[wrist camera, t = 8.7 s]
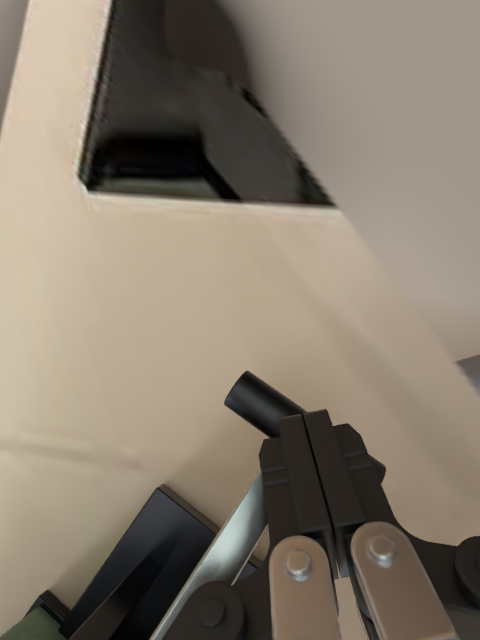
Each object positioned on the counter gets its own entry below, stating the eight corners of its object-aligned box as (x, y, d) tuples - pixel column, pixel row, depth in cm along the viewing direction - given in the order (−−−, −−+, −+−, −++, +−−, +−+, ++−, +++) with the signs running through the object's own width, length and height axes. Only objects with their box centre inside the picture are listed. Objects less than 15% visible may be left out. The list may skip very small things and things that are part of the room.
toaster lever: (243, 382, 16) (250, 358, 14) (369, 470, 15) (398, 460, 13) (-91, 832, 10) (-168, 912, 8) (78, 1034, 9) (40, 1191, 7)
